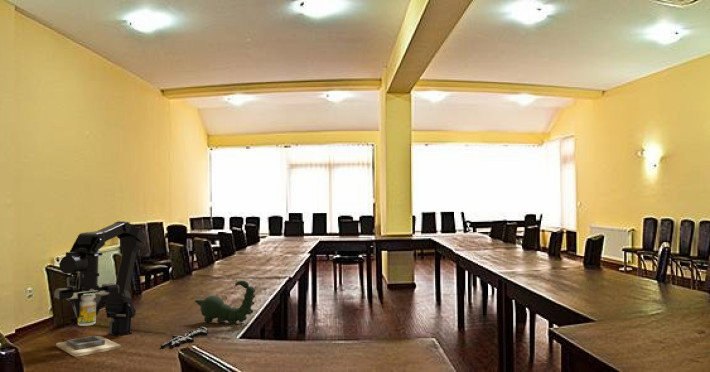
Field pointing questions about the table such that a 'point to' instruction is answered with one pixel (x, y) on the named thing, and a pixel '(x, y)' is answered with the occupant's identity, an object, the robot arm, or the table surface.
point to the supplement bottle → (87, 311)
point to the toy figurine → (227, 307)
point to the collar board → (87, 345)
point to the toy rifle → (184, 338)
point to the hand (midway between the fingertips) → (86, 316)
